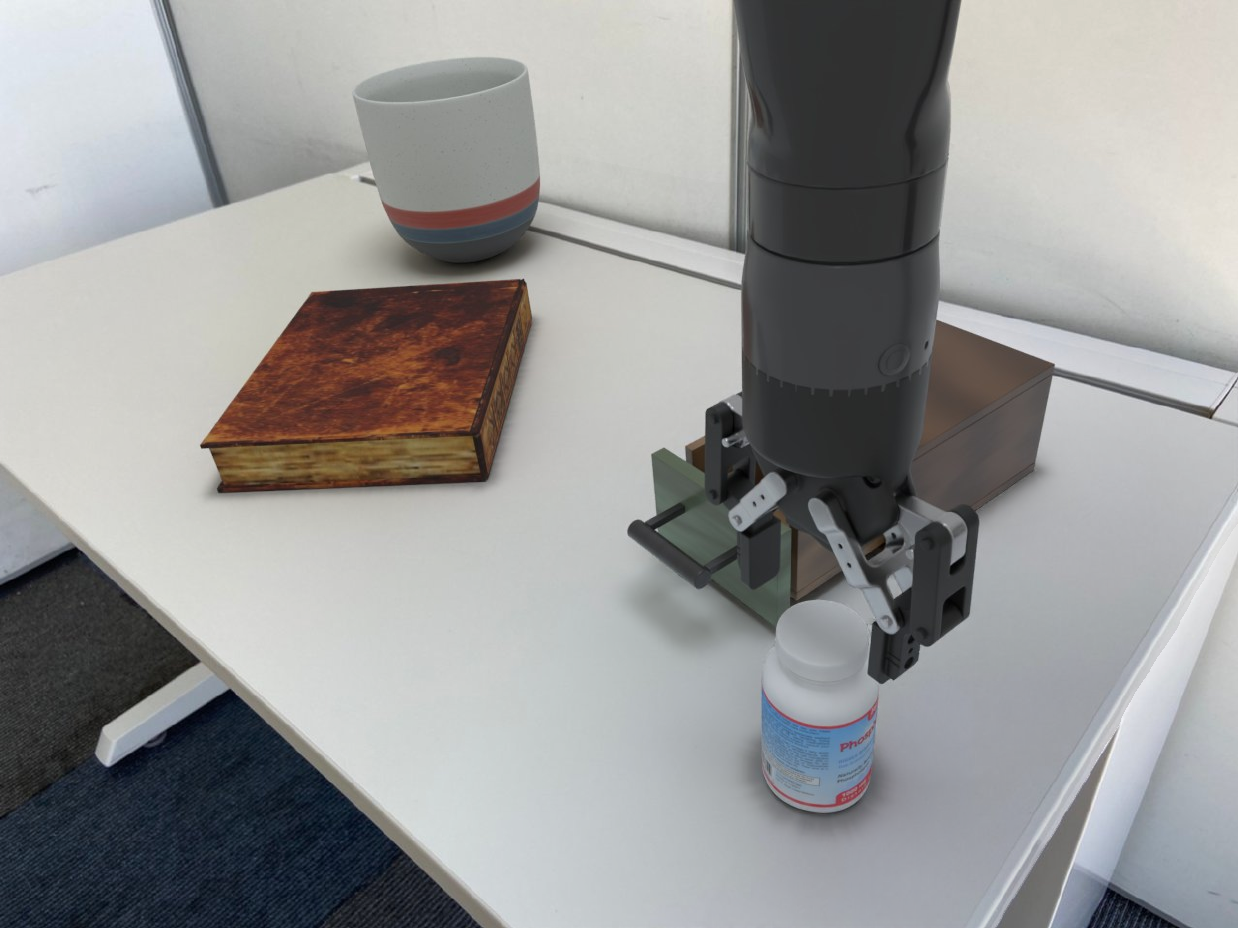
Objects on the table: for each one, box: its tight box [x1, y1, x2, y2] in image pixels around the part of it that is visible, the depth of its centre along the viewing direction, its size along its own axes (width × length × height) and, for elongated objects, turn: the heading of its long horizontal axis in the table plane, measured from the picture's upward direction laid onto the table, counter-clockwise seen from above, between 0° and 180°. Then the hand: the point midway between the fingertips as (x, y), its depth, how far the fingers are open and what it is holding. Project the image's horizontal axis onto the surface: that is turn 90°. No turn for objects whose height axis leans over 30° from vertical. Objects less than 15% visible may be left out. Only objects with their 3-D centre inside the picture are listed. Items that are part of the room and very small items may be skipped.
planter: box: [351, 56, 541, 264], centre depth 116 cm, size 20×20×21 cm
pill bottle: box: [760, 599, 881, 814], centre depth 51 cm, size 6×6×11 cm
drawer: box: [626, 435, 886, 628], centre depth 66 cm, size 20×12×8 cm, turn 127°
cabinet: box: [870, 319, 1056, 556], centre depth 73 cm, size 17×14×10 cm
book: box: [199, 278, 533, 493], centre depth 92 cm, size 30×24×5 cm
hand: (820, 622), depth 47 cm, fingers open, 8 cm apart
